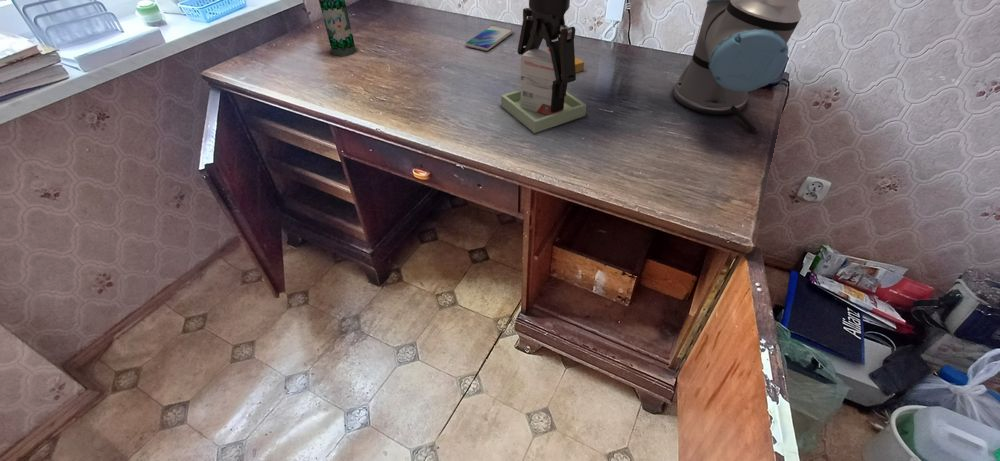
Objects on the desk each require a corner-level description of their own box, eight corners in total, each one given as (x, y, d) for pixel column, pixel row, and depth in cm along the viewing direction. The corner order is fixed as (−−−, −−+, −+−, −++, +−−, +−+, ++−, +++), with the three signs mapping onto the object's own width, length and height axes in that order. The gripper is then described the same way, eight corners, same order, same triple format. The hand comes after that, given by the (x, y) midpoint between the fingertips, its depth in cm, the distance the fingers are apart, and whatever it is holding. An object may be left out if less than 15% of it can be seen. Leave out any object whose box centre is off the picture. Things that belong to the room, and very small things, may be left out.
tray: (585, 116, 100) (586, 104, 98) (534, 133, 95) (534, 121, 93) (549, 91, 108) (550, 80, 106) (501, 106, 103) (500, 95, 101)
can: (333, 57, 122) (317, -5, 112) (331, 48, 126) (316, -12, 116) (356, 53, 123) (343, -7, 113) (354, 45, 128) (341, -15, 117)
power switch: (583, 70, 115) (585, 54, 113) (543, 82, 111) (544, 66, 108) (563, 59, 120) (565, 43, 118) (525, 69, 116) (525, 53, 113)
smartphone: (513, 30, 133) (487, 48, 123) (513, 33, 133) (487, 52, 124) (491, 25, 135) (464, 43, 126) (491, 28, 136) (464, 46, 126)
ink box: (565, 108, 101) (570, 55, 92) (554, 118, 98) (559, 64, 89) (530, 98, 104) (532, 45, 96) (518, 107, 101) (520, 54, 93)
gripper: (606, -1, 78) (589, 117, 94) (533, -33, 92) (528, 75, 108) (571, 7, 76) (559, 128, 91) (500, -27, 89) (500, 83, 105)
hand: (542, 99), depth 99 cm, fingers closed on ink box, 9 cm apart
